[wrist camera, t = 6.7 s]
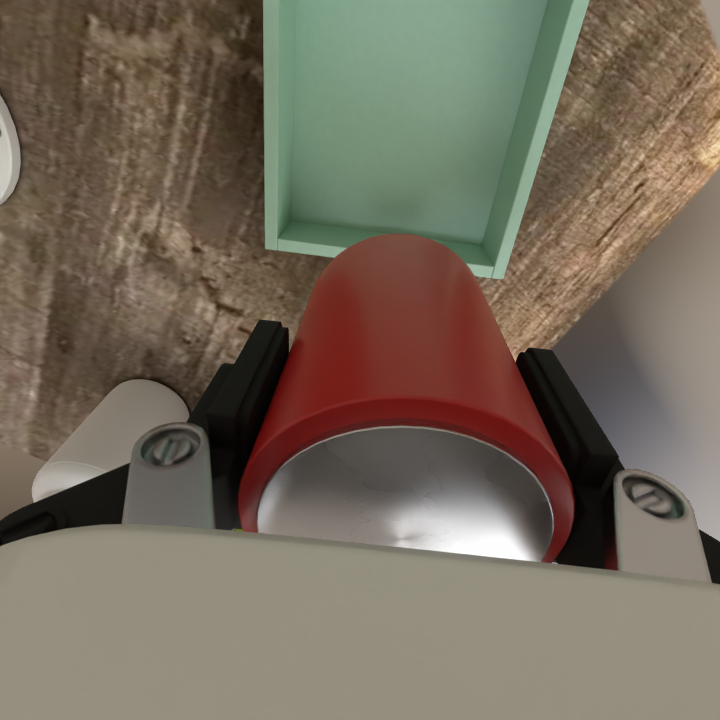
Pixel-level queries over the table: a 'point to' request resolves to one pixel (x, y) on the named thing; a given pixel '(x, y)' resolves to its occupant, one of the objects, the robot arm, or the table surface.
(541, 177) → the table surface
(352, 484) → the soda can
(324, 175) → the box
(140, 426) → the pill bottle
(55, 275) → the table surface
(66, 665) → the robot arm
